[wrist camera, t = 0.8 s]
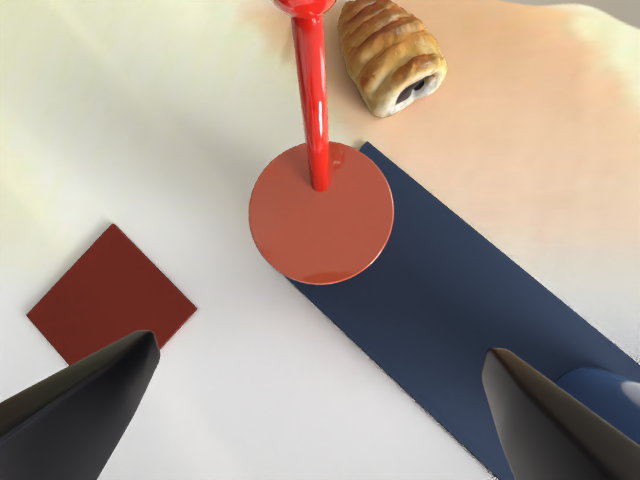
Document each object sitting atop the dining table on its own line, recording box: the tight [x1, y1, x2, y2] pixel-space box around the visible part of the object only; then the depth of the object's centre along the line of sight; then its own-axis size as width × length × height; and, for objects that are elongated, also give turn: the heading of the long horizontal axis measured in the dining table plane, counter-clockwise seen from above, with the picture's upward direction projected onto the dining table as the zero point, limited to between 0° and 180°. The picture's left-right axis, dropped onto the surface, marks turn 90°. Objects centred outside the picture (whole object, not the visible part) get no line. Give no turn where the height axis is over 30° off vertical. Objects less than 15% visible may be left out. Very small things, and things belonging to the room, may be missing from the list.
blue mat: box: [284, 142, 640, 480], centre depth 22 cm, size 12×27×1 cm, turn 47°
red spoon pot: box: [249, 0, 394, 285], centre depth 15 cm, size 9×6×17 cm
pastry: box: [337, 0, 447, 117], centre depth 23 cm, size 9×7×4 cm
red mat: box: [26, 224, 197, 366], centre depth 24 cm, size 10×10×1 cm
